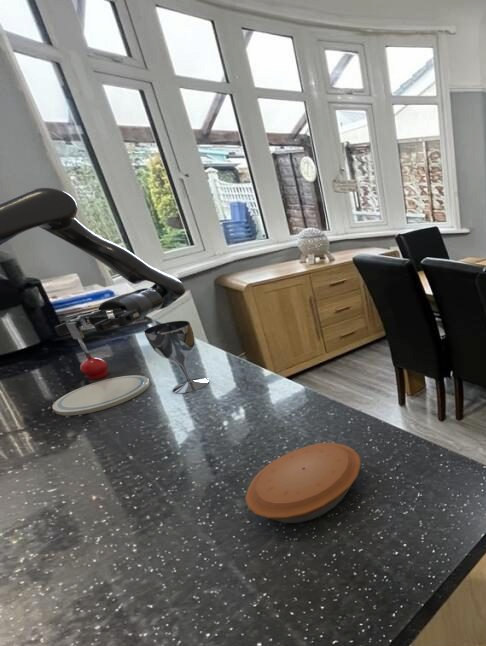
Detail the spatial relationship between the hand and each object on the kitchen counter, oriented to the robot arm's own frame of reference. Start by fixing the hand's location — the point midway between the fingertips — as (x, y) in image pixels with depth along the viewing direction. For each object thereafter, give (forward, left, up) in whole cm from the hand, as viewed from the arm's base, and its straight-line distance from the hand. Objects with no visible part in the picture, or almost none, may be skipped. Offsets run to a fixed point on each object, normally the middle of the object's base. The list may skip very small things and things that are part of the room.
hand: (77, 329), depth 95 cm
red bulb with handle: (0, -1, -13) cm, 13 cm away
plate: (+5, -15, -13) cm, 20 cm away
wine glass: (+22, -20, -13) cm, 32 cm away
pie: (+45, -73, -13) cm, 86 cm away
